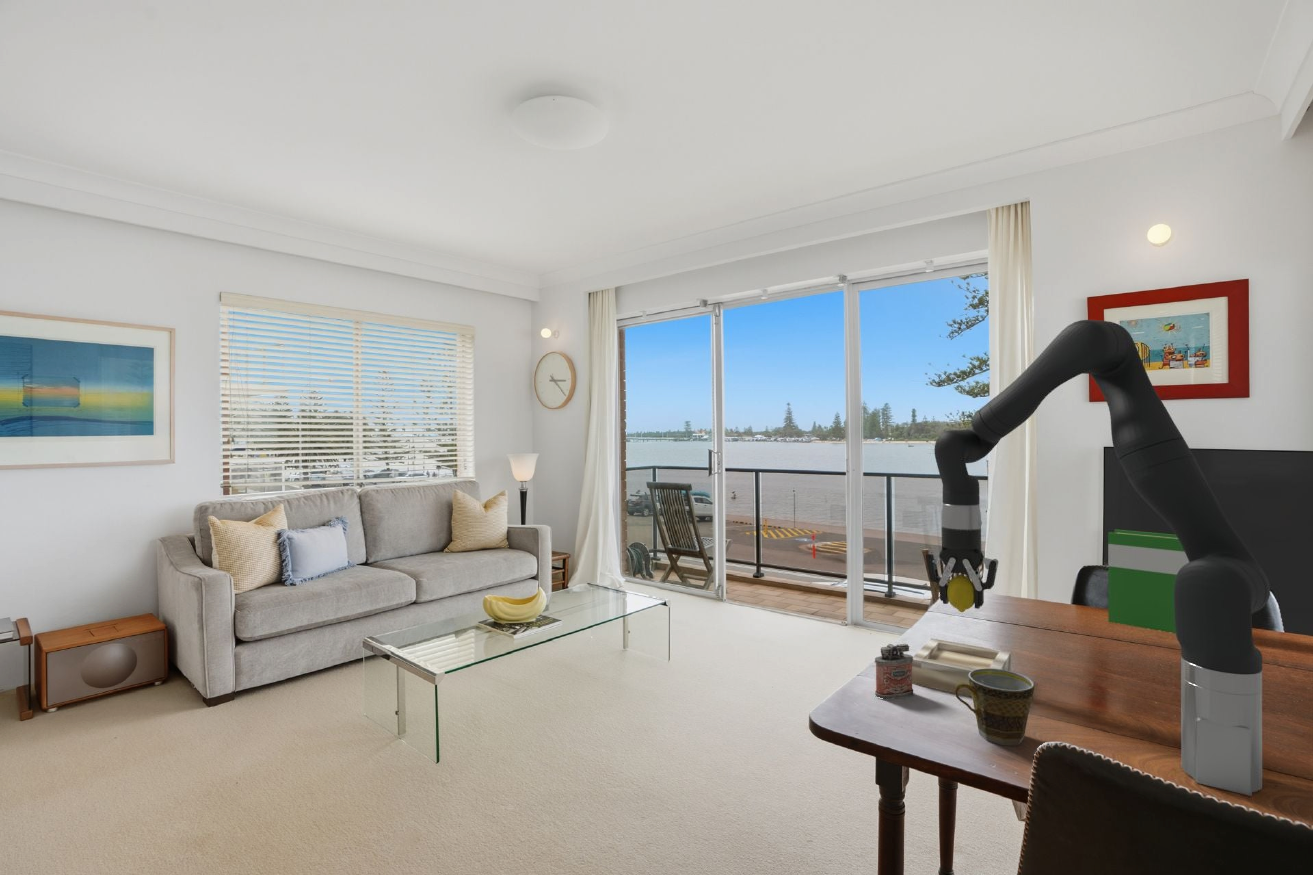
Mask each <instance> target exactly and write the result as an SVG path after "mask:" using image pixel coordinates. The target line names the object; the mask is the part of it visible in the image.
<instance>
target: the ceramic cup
mask: <svg viewBox="0 0 1313 875" xmlns="http://www.w3.org/2000/svg"><path fill="white" fill-rule="evenodd" d="M968 677H969V684H970V685H968V684H966V683H960V684H958V685H957V686H956V688H955V693H954V696H955V697H956V699H957V700H958V701H960V703H963V705H965V706H966V707H967V708H968V709H969V710H970V711H972V712H973V714H975V718H976V723H977V724H976V725H977V730H978V731H977V732H978V734H979V735H980V736H981V737H982V738H983V739H984V740H985V739H986V740H985V741H987V742H989V741H990V742H991V743H993V742H994V743H993V744H996V743H998V744H997V745H999V746H1003V745H1004V746H1005V745H1007V747H1009V746H1008V745H1010V746H1019V745H1021V744H1022V742H1023V741H1024V738H1025V734H1026V730H1027V729H1026V728H1027V724H1028V718H1029V713H1030V709H1031V706H1032V702H1033V698H1034V690H1035V682H1034V681H1033V680H1031V678H1029V677H1027V676H1025V675H1023V674H1021V673H1017V672H1014V671H1012V670H1011V671H1007V670H1001V669H976V670H973V671H971V672H970V673H969V675H968ZM960 688H968V689H969V690H970V692H971V694H972V697H971V698H972V699H971V700H972V703H973V707H974V708H973V707H972V706H970V704H969V703H968V702H966V701H965V700H963V699H962V698H961V697H959V694H958V690H959V689H960ZM1005 747H1006V746H1005Z"/></svg>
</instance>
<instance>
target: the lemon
mask: <svg viewBox="0 0 1313 875" xmlns="http://www.w3.org/2000/svg"><path fill="white" fill-rule="evenodd" d="M947 585H948V587H947V597H948V600H949V604H950V605H951V606H952V607H953V608H955V609H956V610H957V611H958V612H959V613H964V612H965V611H966V610H969V609H970V608H971V609H972V607H973V606H975V590H976V588H975V586H974V584H973V582H972V580H971V579H970V577H967V576H966V575H964V574H961V573H959V574H958V575H956V576H954V577H952V578H950V579H949V581H948V583H947Z"/></svg>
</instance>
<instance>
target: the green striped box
mask: <svg viewBox="0 0 1313 875" xmlns="http://www.w3.org/2000/svg"><path fill="white" fill-rule="evenodd" d="M1107 535H1108V537H1107V538H1108V539H1107V541H1108V542H1107V545H1108V547H1107V550H1108V552H1107V553H1108V555H1107V557H1108V560H1107V561H1108V569H1107V571H1108V573H1107V574H1108V577H1107V579H1108V581H1107V582H1108V583H1107V584H1108V588H1107V590H1108V600H1107V601H1108V606H1107V607H1108V609H1107V610H1108V622H1109V623H1114V624H1118V623H1119V625H1125V626H1130V627H1137V628H1143V629H1147V628H1149V629H1148V630H1152V629H1153V630H1152V631H1158V630H1161V631H1160V632H1164V631H1165V633H1169V632H1172V633H1171V634H1174V635H1176V631H1175V614H1174V583H1175V578H1176V576H1177V573H1178V572H1179V570H1180V569H1181V568H1182V567H1183V566H1184V565H1186V564H1187V563H1189V560H1188V558H1187V556H1186V554H1185V551H1184V549H1183V547H1182V545H1181V543H1180V541H1179V540H1178V538H1177V536H1176V534H1170V533H1162V532H1161V533H1159V532H1147V531H1138V530H1137V531H1135V530H1127V529H1125V530H1124V529H1114V531H1113V532H1107Z"/></svg>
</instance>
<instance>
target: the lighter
mask: <svg viewBox="0 0 1313 875" xmlns="http://www.w3.org/2000/svg"><path fill="white" fill-rule="evenodd" d="M904 652H906V653H904ZM907 652H910V645H909V644H908V643H900V644H896V645H894V644H892V643H888V644H887V645H886V646H882V647H880V654H881V655H880V656H876V657H875V658H874V663H875V692H874V696H875V695H876V696H877V697H880V698H883V699H886V700H896V699H895V698H899V699H904V698H903V697H905V698H909V697H911V696H914V689H913V684H912V662H913V657H914V656H913V655H911V654H908V653H907ZM876 696H875V697H876ZM877 697H876V698H877ZM901 697H902V698H901ZM892 698H894V699H892ZM883 699H882V700H883Z"/></svg>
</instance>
